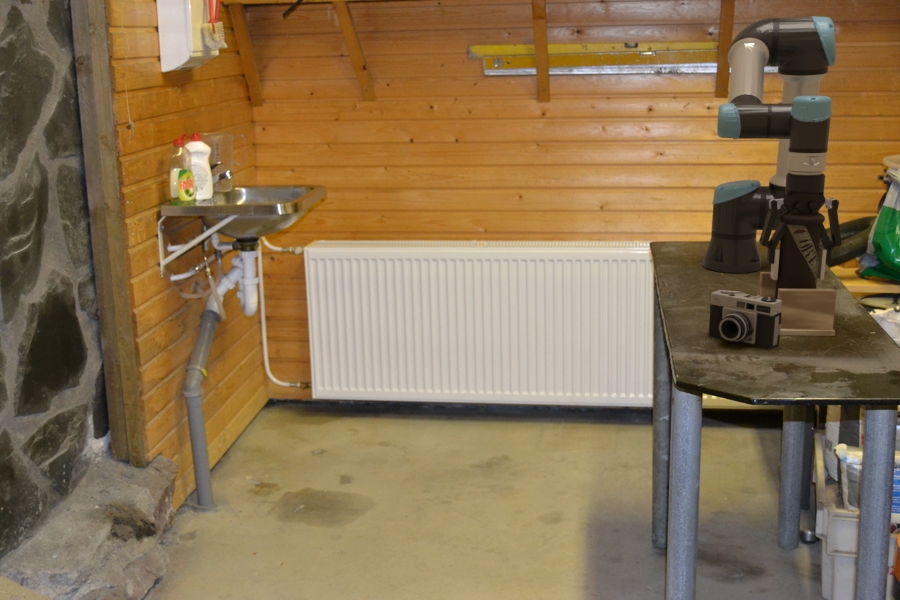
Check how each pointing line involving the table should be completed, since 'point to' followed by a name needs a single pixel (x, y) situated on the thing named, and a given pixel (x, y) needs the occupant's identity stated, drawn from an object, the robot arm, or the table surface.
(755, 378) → the table surface
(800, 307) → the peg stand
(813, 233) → the container
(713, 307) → the camera
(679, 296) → the table surface
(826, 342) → the table surface
